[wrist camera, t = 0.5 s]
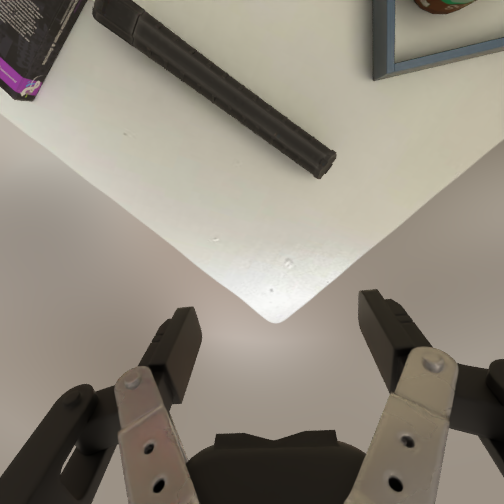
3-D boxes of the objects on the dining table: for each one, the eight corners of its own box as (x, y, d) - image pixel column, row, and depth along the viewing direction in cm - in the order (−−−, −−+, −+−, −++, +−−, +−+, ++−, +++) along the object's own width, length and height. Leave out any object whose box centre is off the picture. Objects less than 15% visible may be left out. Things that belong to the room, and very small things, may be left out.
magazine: (371, 177, 28) (40, -88, 15) (350, 202, 29) (28, -22, 16) (311, 144, 42) (116, -6, 29) (299, 162, 43) (106, 26, 30)
